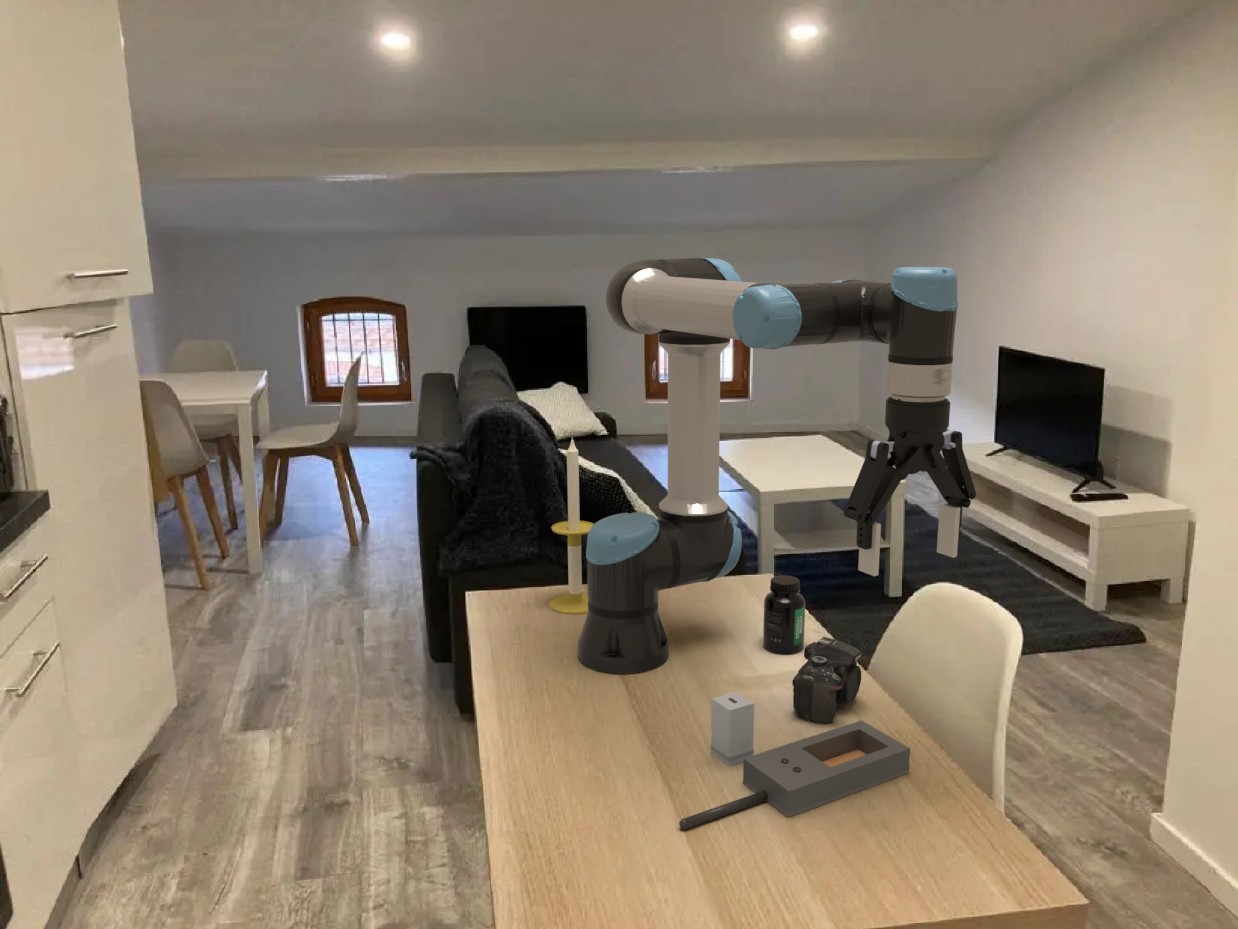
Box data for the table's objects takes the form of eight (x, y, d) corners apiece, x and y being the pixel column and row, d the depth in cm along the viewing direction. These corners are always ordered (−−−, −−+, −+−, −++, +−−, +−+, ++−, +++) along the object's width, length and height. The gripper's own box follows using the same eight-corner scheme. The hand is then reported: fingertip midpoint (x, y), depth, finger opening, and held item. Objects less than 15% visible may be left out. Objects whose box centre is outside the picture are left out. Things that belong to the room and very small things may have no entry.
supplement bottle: (809, 653, 168) (811, 585, 166) (769, 656, 167) (771, 588, 165) (796, 637, 175) (798, 572, 172) (758, 640, 174) (759, 574, 171)
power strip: (701, 849, 115) (701, 821, 115) (659, 811, 123) (659, 784, 122) (908, 773, 131) (910, 747, 130) (860, 743, 139) (861, 719, 138)
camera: (861, 728, 143) (864, 663, 141) (790, 722, 145) (792, 658, 143) (859, 688, 156) (862, 627, 154) (794, 682, 158) (795, 623, 156)
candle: (612, 603, 192) (610, 436, 184) (575, 618, 185) (571, 445, 177) (576, 591, 198) (573, 429, 191) (538, 605, 191) (533, 437, 184)
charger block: (710, 752, 137) (711, 698, 135) (735, 745, 139) (736, 691, 137) (728, 766, 133) (729, 710, 131) (753, 758, 135) (754, 702, 133)
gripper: (863, 410, 113) (854, 590, 118) (1013, 391, 125) (1000, 555, 130) (818, 401, 119) (812, 572, 124) (965, 384, 131) (954, 540, 136)
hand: (908, 563), depth 127 cm, fingers open, 13 cm apart
